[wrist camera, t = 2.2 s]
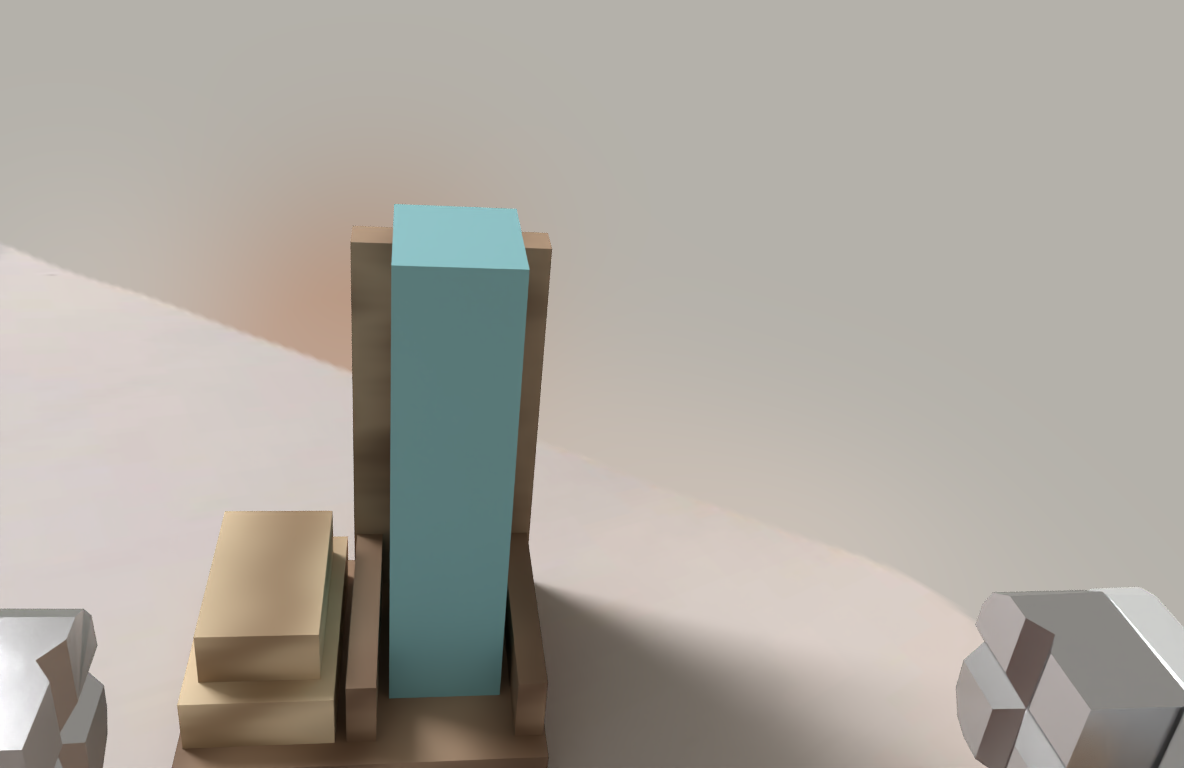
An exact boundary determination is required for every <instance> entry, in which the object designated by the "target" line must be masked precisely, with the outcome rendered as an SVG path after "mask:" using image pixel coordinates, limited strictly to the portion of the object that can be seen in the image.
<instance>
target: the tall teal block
mask: <svg viewBox="0 0 1184 768" xmlns="http://www.w3.org/2000/svg"><path fill="white" fill-rule="evenodd" d="M529 270H530V269H529V265H528V260H527V256H526V251H525V246H524V242H523V237H522V232H521V228H520V223H519V219H518V214H517V209H505V208H480V207H479V208H478V207H452V206H429V205H427V206H426V205H403V204H402V205H401V204H394V222H393V242H392V263H391V434H390V624H389V698H419V697H451V696H482V695H500V683H501V668H502V654H503V640H504V626H505V611H506V597H507V583H508V569H509V555H510V540H511V526H512V512H513V498H514V484H515V469H516V455H517V441H518V427H519V412H520V398H521V384H522V370H523V356H524V341H525V327H526V313H527V299H528V284H529Z"/></svg>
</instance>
